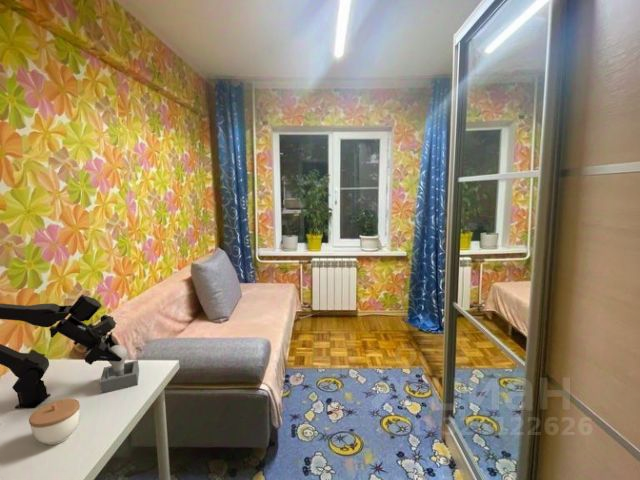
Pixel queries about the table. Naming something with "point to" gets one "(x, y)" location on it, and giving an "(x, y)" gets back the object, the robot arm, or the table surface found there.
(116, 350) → the lightbulb
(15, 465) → the table surface
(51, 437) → the lidded jar
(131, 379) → the socket
